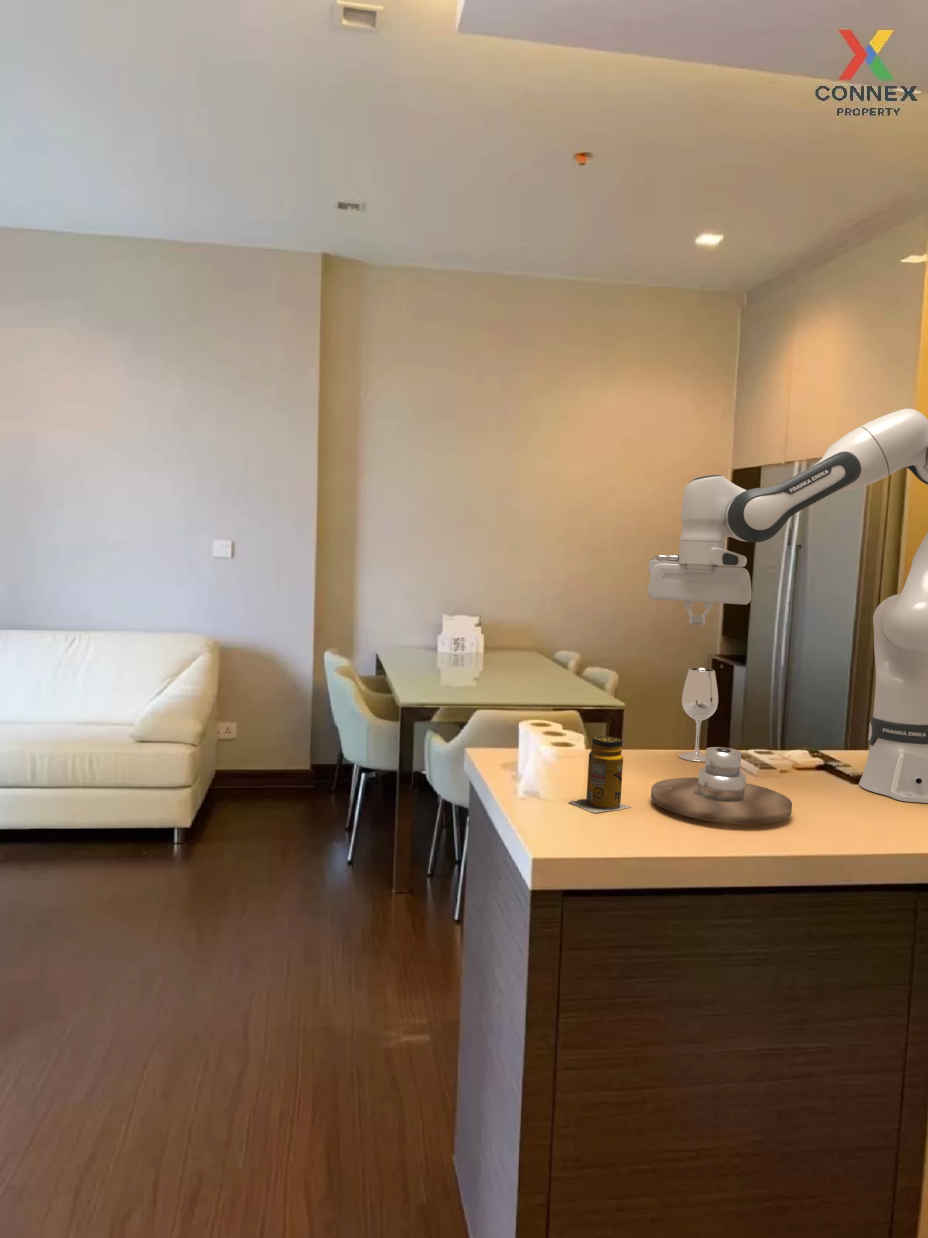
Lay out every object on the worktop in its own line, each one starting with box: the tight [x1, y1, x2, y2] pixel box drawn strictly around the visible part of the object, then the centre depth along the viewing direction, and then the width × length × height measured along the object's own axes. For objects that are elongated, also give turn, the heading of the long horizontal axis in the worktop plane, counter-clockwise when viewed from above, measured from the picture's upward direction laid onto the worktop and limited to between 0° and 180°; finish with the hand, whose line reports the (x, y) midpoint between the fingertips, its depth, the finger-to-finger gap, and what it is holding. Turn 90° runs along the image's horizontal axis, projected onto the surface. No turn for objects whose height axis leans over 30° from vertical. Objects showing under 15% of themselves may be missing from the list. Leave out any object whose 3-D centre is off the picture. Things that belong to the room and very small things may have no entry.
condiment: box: [569, 735, 631, 814], centre depth 156 cm, size 7×8×12 cm
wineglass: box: [678, 667, 719, 763], centre depth 196 cm, size 8×8×20 cm
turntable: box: [650, 777, 793, 825], centre depth 157 cm, size 24×24×2 cm
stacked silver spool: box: [697, 746, 747, 802], centre depth 156 cm, size 8×8×8 cm
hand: (697, 624), depth 179 cm, fingers closed
